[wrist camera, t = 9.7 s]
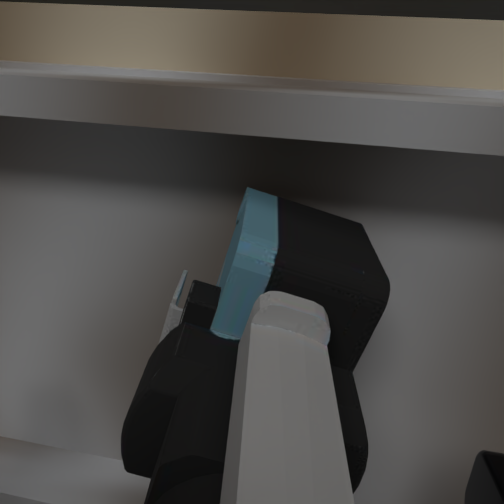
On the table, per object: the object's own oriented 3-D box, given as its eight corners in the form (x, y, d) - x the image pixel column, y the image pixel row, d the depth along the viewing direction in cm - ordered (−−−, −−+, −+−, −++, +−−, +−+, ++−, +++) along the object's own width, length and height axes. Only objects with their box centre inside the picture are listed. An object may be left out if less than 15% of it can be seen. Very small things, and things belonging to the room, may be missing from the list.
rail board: (812, 36, 7) (1082, 27, 5) (570, 548, 12) (633, 690, 9) (-157, -1, 10) (-341, -21, 7) (-44, 424, 15) (-132, 507, 12)
